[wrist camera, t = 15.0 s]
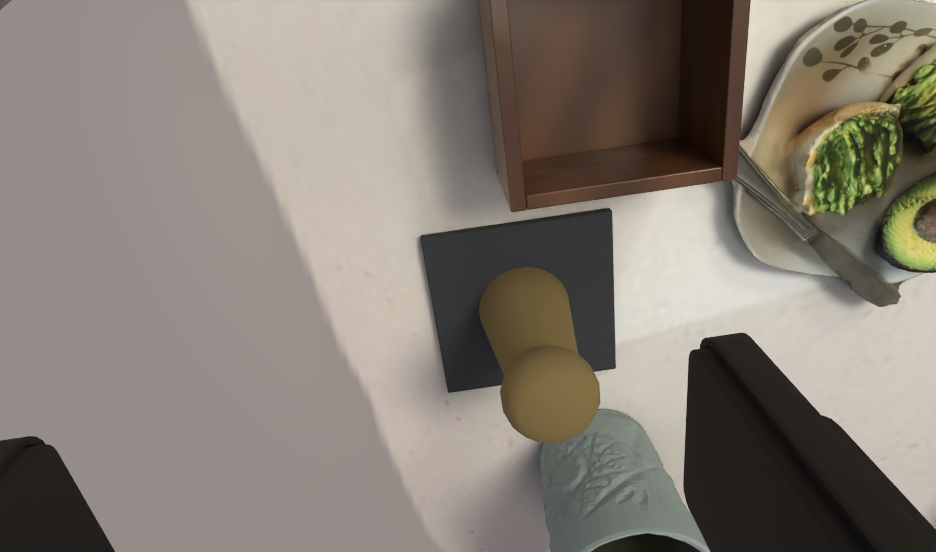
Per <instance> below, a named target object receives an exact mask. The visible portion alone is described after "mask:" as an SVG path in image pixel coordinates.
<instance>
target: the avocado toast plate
mask: <svg viewBox="0 0 936 552" xmlns="http://www.w3.org/2000/svg"><path fill="white" fill-rule="evenodd" d="M731 182H732V185H733V198H734V203H733V216H734V220H735V222H736V224H737V226H738V230H739V232H740V234H741V236H742V238H743V240H744V242H745V244H746V245H747V247H748V249H749V251H750V252H751V253H752V254H753V255H754V256H755V257H756V258H757V259H758V260H759V261H761V262H762V263H764V264H767V265H770V266H774V267H777V268H780V269H784V270H789V271H798V272H805V273H811V274H816V275H826V276H837V277H840V278H841V279H844V280H846V281H847V282H848V283H849V286H850V288H851V290H853V291H854V292H855V293H857V294H858V295H859V296H861V297H862V298H864V299H865V300H867V301H869V302H871V303H872V304H874V305H876V306H879V307H883V306H887V305H890V304H897V303H898V301H899V298H900V297H901V296H900V294H899V292H898V289H899V285H900V284H902V283H903V282H904V281H906V280H908V279H911V278H913V277H916V276H918V275H920V274H923V273H934V272H936V4H933V3H929V2H927V1H916V0H864V1H861V2H859V3H856V4H853V5H851V6H847V7H844V8H841V9H839V10H838V11H836V12H835V13H834V14H832V15H830V16H829V17H827V18H826V19H824V20H823V21H821V22H820V23H819V24H818V25H816V26H815V27H813V28H812V29H810V30H809V31H807V32H806V33H804V34H803V35H802V36H801V37H800V38H799V39H798V41H797V42H796V44H795V46H794V47H793V49H792V50H791V52H790V53H789V55H788V57H787V58H786V60H785V62H784V64H783V65H782V67H781V68H780V70H779V72H778V74H777V76H776V78H775V79H774V81H773V83H772V85H771V87H770V89H769V91H768V93H767V95H766V98H765V100H764V103H763V105H762V108H761V111H760V113H759V116H758V118H757V120H756V122H755V124H754V125H753V128H752V130H751V132H750V133H749V134H748V136H747V137H746V138H745V139H744V140H740V146H739V159H738V172H737V179H735V180H731Z"/></svg>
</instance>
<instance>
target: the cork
mask: <svg viewBox="0 0 936 552" xmlns="http://www.w3.org/2000/svg"><path fill="white" fill-rule="evenodd" d="M479 315H480V321H481V323H482V326H483V328H484V330H485V333H486V335H487V337H488V340H489V342H490V344H491V346H492V349H493V351H494V353H495V356H496V358H497V360H498V362H499V365H500V367H501V369H502V372H503V374H504V378H503V382H502V386H501V391H500V394H501V400H502V407H503V412H504V413H505V415H506V417H507V418H508V420H509V422H510V423H511V425H512V427H513V428H514V429H516V430H517V431H518V432H519V433H521V434H522V435H523V436H525V437H527V438H529V439H532V440H534V441H537V442H543V443H556V442H562V441H566V440H568V439H571V438H573V437H576V436H577V435H579V434H580V433H581V432H583V431H584V430H585V429H587V427H588V426H589V425H590V423H591V422H592V421H593V419H594V417H595V416H596V413H597V410H598V407H599V404H600V391H599V382H598V380H597V378H596V376H595V374H594V372H593V370H592V368H591V366H590V365H589V364H588V363H587V362H586V361H585V360H584V359H583V358H582V357H581V356H580V355H579V354H578V350H577V344H576V339H575V333H574V327H573V321H572V316H571V310H570V304H569V298H568V294H567V292H566V290H565V288H564V286H563V284H562V282H560V281H559V280H558V279H557V278H556V277H555V276H554V275H553V274H551V273H549V272H547V271H545V270H542V269H539V268H531V267H523V268H516V269H511V270H509V271H507V272H505V273H503V274H501V275H499V276H497V277H496V278H495V279H494V280H493V281H492V282H491V283H490V284H488V286H487V287H486V289H485V291H484V292H483V294H482V296H481V299H480V304H479Z"/></svg>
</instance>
